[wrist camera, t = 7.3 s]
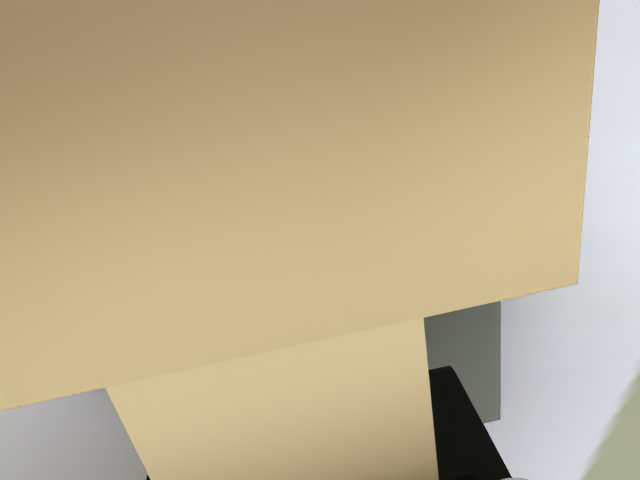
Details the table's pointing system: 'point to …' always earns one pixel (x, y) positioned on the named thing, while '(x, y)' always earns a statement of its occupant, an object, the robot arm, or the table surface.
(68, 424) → the table surface
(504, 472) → the robot arm
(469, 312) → the rest mat
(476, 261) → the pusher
